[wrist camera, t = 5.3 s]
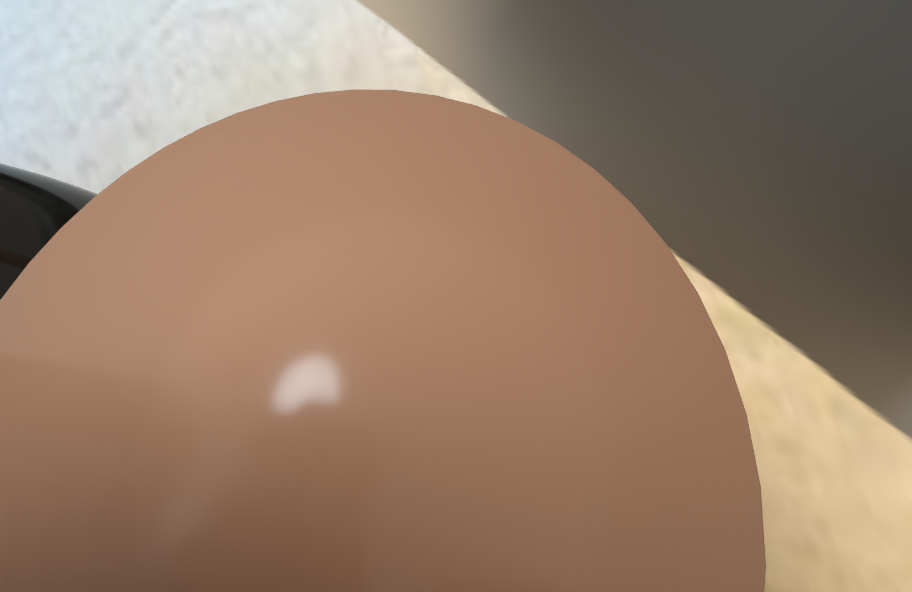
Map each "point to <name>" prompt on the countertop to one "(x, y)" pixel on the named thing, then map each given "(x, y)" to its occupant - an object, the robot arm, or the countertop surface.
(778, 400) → the countertop surface
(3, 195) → the pump dispenser
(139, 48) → the countertop surface
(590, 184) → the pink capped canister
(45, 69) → the countertop surface
